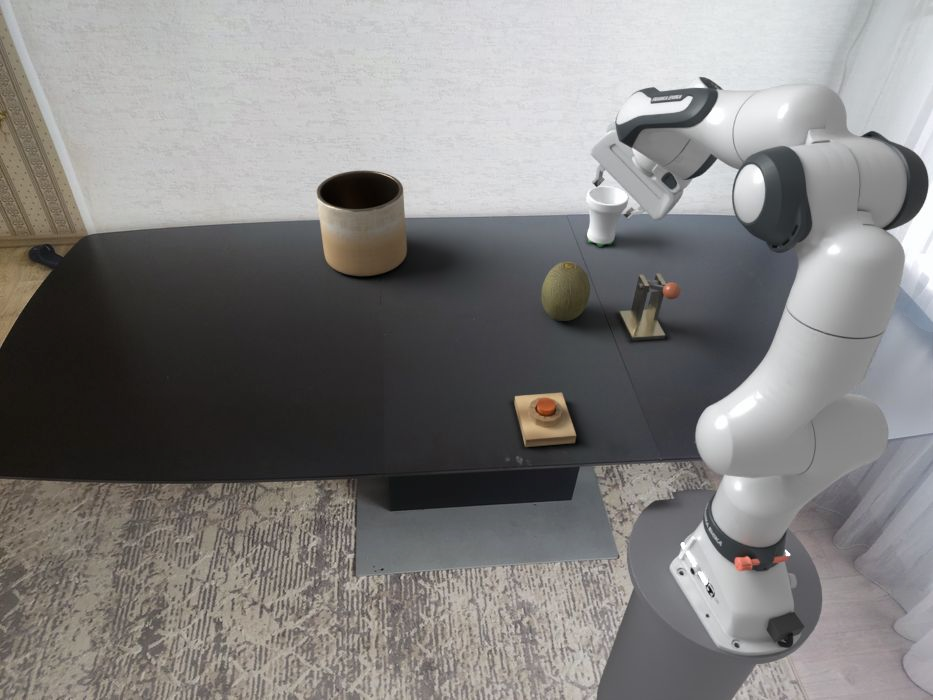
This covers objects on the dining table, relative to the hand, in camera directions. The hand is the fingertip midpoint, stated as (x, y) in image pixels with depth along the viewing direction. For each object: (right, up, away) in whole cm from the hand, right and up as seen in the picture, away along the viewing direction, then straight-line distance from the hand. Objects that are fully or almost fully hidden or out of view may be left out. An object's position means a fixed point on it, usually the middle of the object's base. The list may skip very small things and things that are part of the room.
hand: (611, 200), depth 136 cm
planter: (-57, -6, +42) cm, 71 cm away
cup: (+8, 0, +51) cm, 52 cm away
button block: (-14, -46, -2) cm, 48 cm away
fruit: (-7, -23, +24) cm, 34 cm away
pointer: (+13, -19, +9) cm, 25 cm away
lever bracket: (+12, -25, +22) cm, 35 cm away
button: (-14, -43, -5) cm, 46 cm away
